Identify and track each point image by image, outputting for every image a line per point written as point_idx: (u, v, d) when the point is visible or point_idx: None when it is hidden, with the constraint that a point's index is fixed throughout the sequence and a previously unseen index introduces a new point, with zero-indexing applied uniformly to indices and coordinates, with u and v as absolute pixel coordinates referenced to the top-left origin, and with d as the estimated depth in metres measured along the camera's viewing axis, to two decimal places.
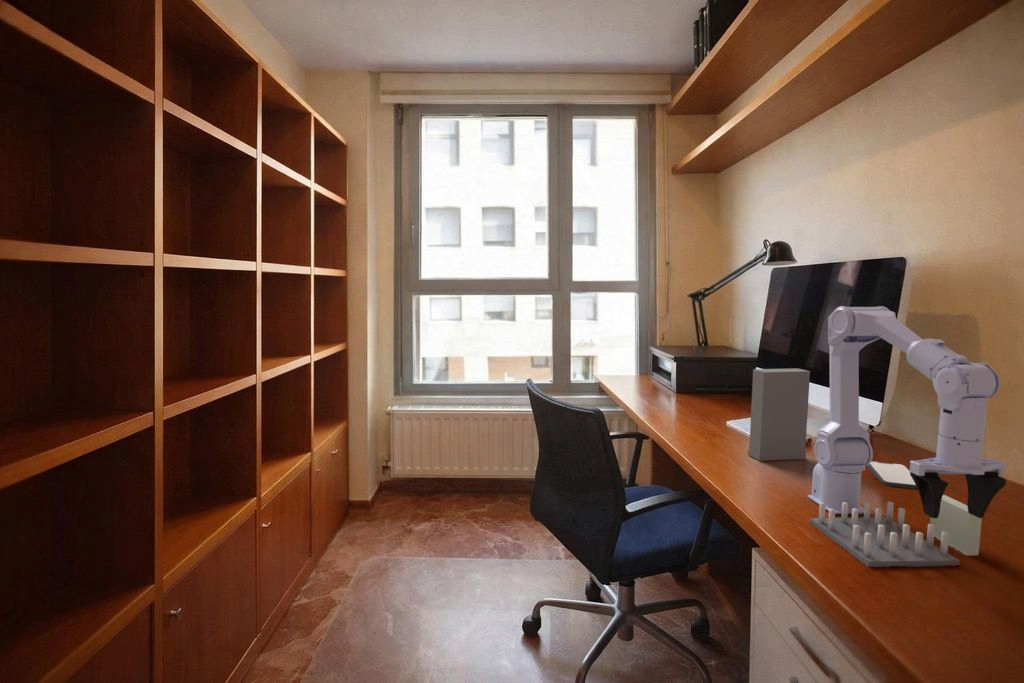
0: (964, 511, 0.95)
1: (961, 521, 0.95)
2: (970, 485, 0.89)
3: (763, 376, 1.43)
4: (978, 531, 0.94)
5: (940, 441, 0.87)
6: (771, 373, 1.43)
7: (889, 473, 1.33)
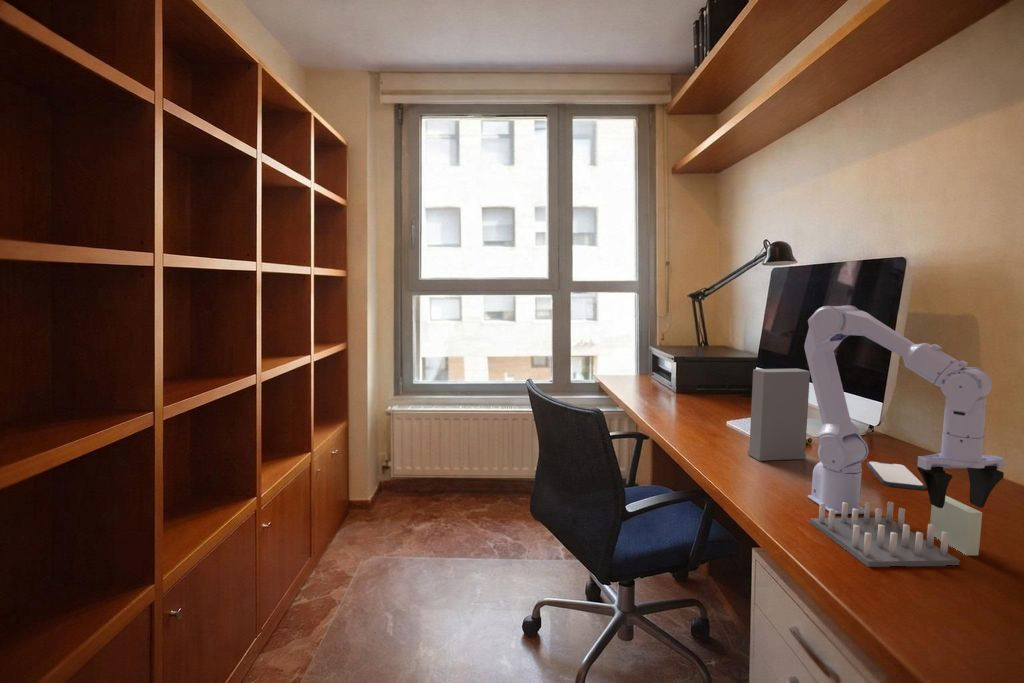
0: (964, 511, 0.95)
1: (961, 521, 0.95)
2: (972, 478, 0.99)
3: (763, 376, 1.43)
4: (978, 531, 0.94)
5: (945, 438, 0.97)
6: (771, 373, 1.43)
7: (889, 473, 1.33)
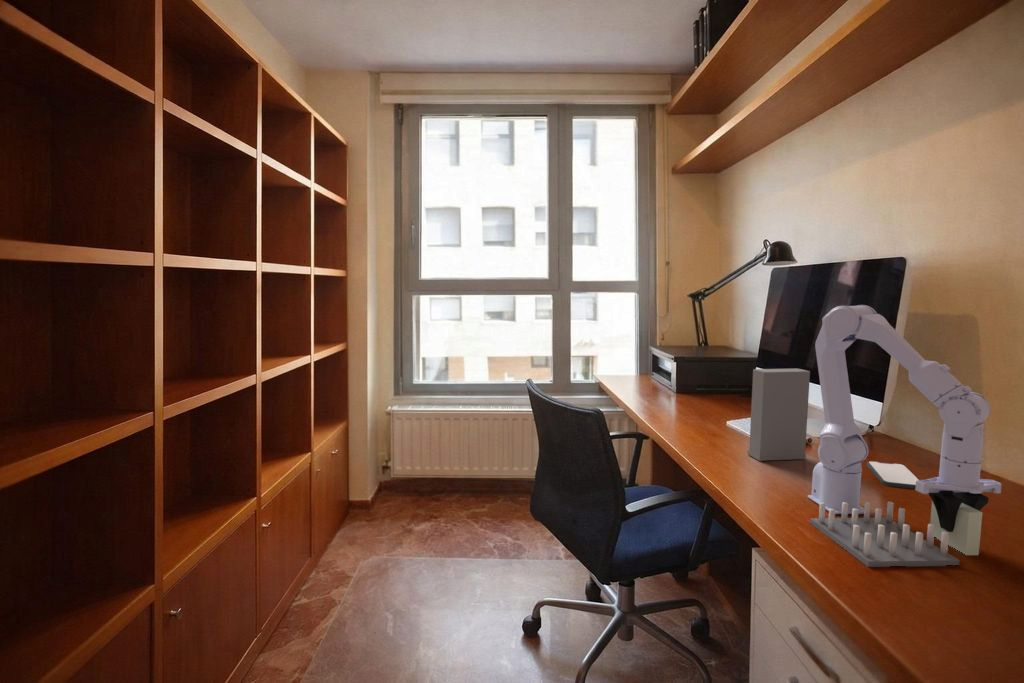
0: (964, 511, 0.95)
1: (961, 520, 0.95)
2: None
3: (763, 376, 1.43)
4: (978, 531, 0.94)
5: (942, 463, 0.97)
6: (771, 373, 1.43)
7: (889, 473, 1.33)
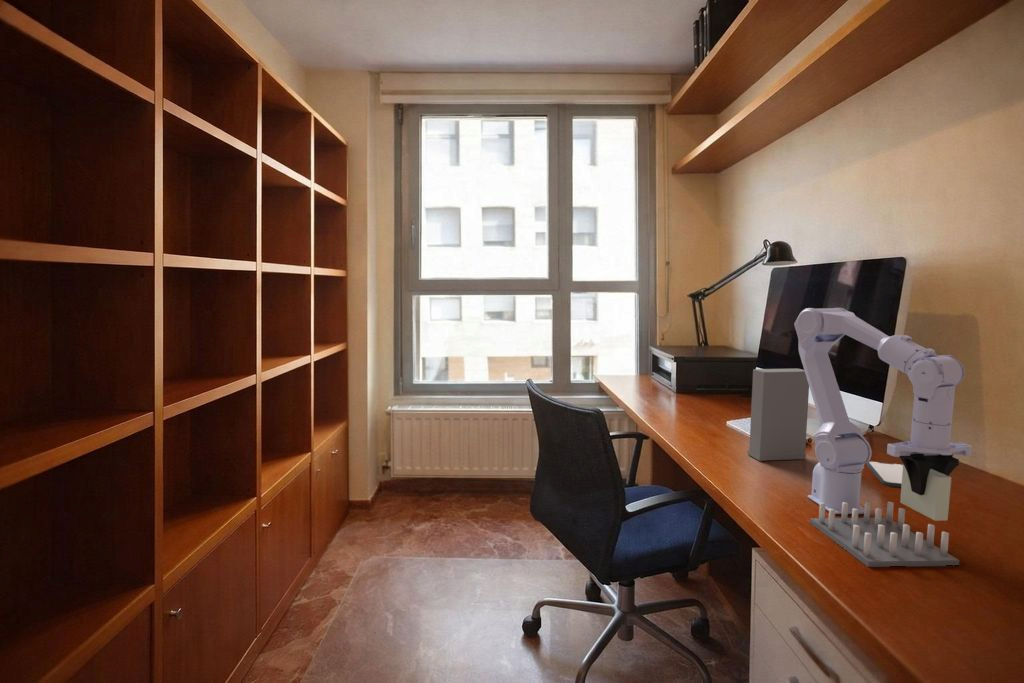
0: (933, 476, 0.95)
1: (930, 486, 0.95)
2: None
3: (763, 376, 1.43)
4: (947, 496, 0.94)
5: (914, 426, 0.97)
6: (771, 373, 1.43)
7: (889, 473, 1.33)
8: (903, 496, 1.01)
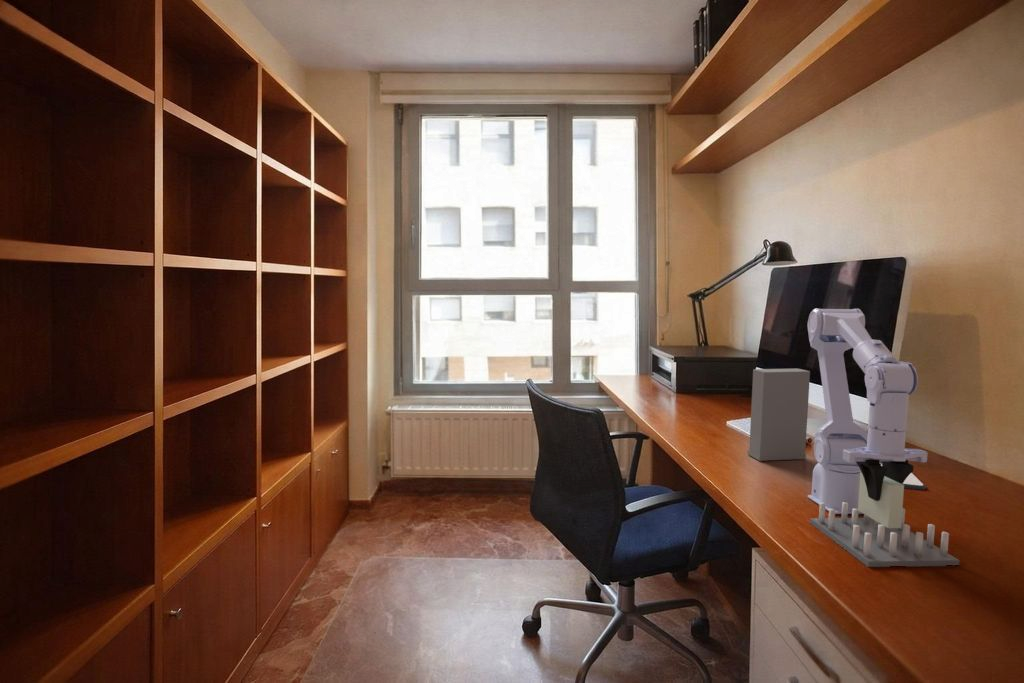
0: (887, 484, 0.95)
1: (884, 494, 0.96)
2: (885, 471, 0.99)
3: (763, 376, 1.43)
4: (900, 504, 0.95)
5: (869, 432, 0.97)
6: (771, 373, 1.43)
7: None
8: (860, 504, 1.02)
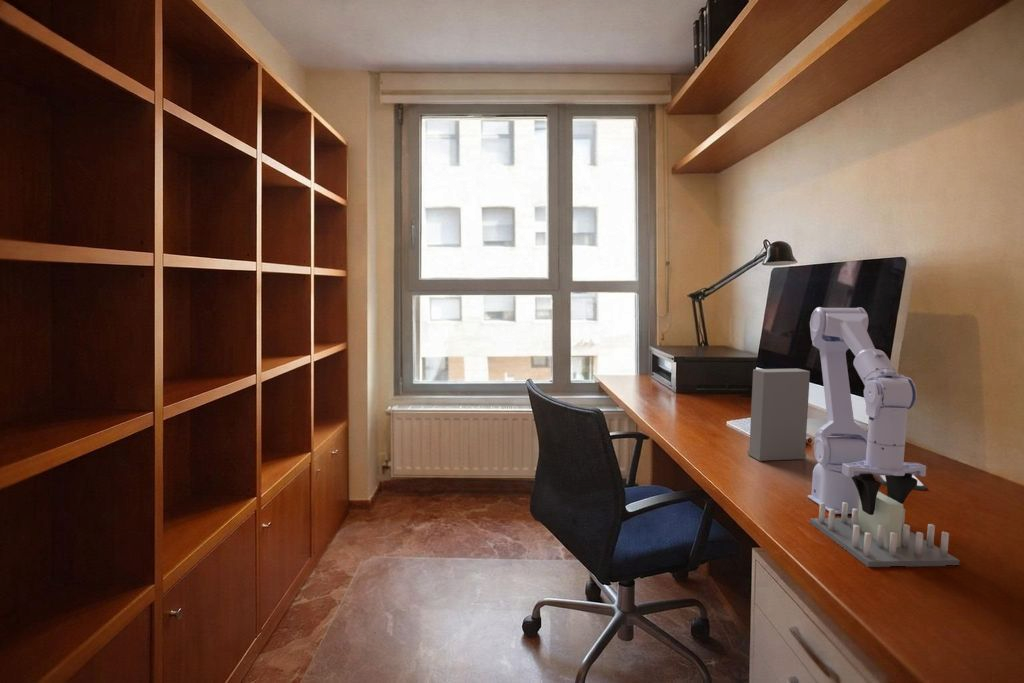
0: (886, 503, 0.95)
1: (883, 513, 0.96)
2: (889, 485, 0.99)
3: (763, 376, 1.43)
4: (899, 523, 0.95)
5: (868, 446, 0.98)
6: (771, 373, 1.43)
7: None
8: (860, 521, 1.02)
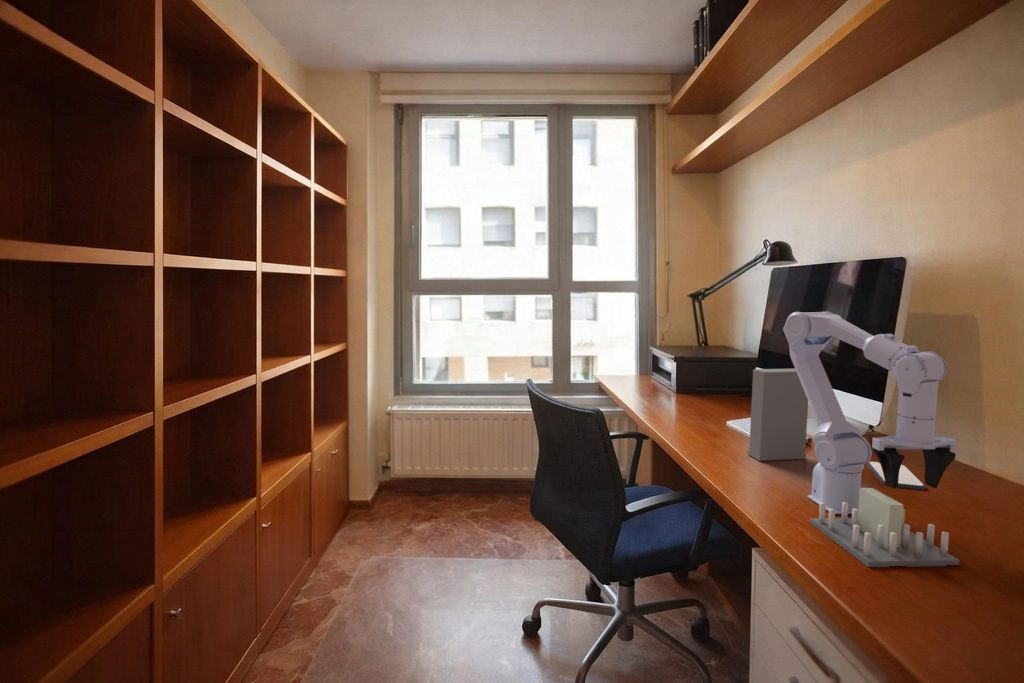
0: (886, 503, 0.95)
1: (883, 513, 0.96)
2: (926, 460, 1.01)
3: (763, 376, 1.43)
4: (899, 523, 0.95)
5: (898, 420, 0.99)
6: (771, 373, 1.43)
7: None
8: (860, 521, 1.02)
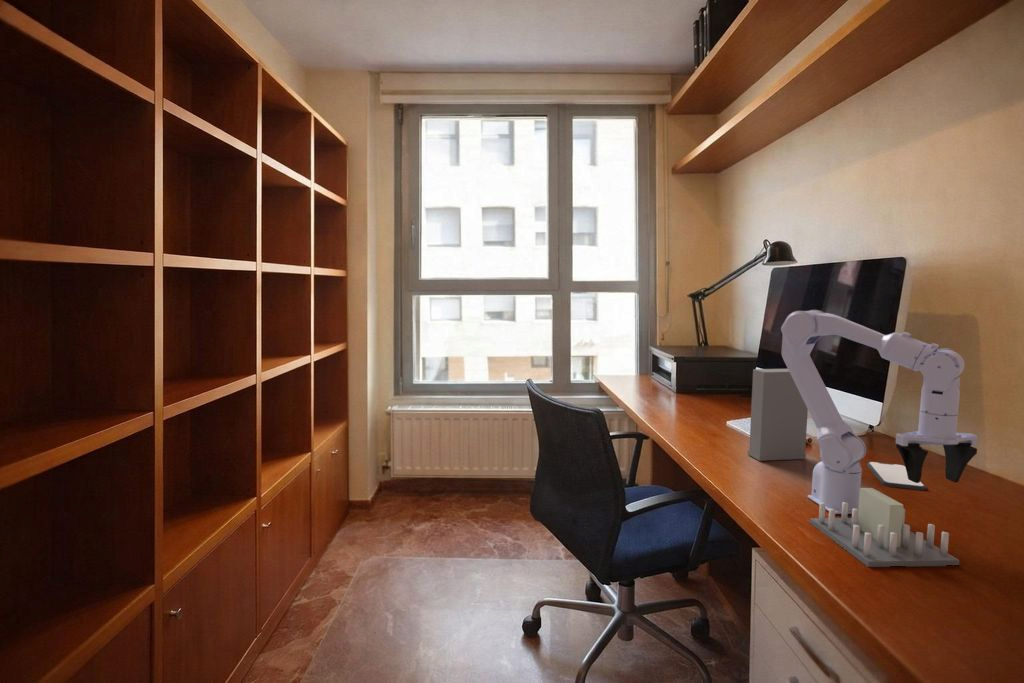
0: (886, 503, 0.95)
1: (883, 513, 0.96)
2: (947, 455, 1.03)
3: (763, 376, 1.43)
4: (899, 523, 0.95)
5: (921, 417, 1.01)
6: (771, 373, 1.43)
7: (889, 474, 1.33)
8: (860, 521, 1.02)
